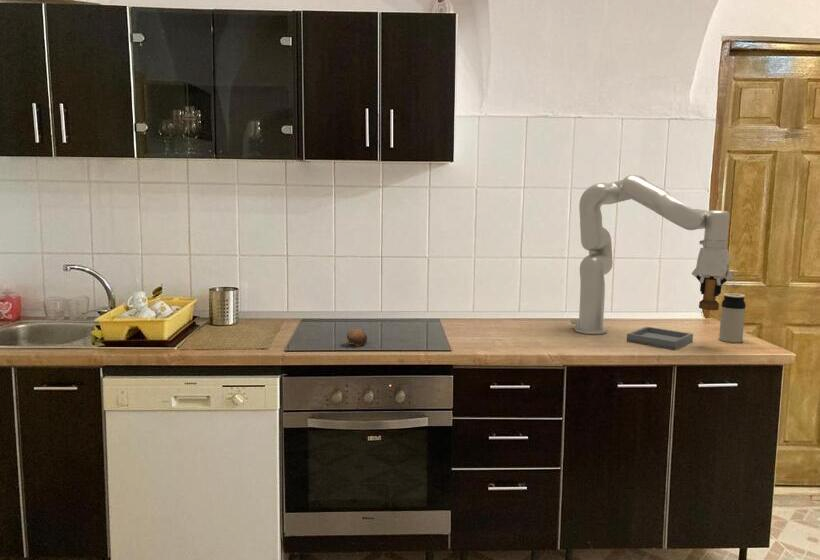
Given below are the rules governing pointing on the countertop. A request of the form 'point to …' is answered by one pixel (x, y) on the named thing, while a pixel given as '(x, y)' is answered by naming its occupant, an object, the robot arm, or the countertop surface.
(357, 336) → the mushroom
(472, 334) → the countertop surface
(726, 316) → the travel mug
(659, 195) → the robot arm
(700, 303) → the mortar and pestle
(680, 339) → the tray
